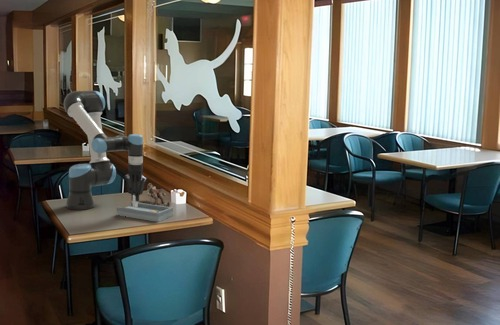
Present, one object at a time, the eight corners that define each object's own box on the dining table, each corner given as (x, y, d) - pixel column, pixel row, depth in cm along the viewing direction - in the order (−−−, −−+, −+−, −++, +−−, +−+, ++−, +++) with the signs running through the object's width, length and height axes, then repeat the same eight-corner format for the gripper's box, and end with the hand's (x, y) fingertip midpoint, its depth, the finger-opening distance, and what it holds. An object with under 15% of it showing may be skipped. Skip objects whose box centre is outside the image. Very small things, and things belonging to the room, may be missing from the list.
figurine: (159, 197, 319) (143, 176, 344) (152, 213, 321) (137, 192, 346) (176, 201, 325) (160, 181, 350) (170, 217, 327) (154, 196, 352)
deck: (116, 215, 309) (116, 206, 308) (132, 209, 322) (132, 201, 321) (158, 221, 299) (158, 213, 298) (172, 215, 312) (172, 207, 311)
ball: (149, 210, 307) (154, 212, 305) (153, 209, 310) (158, 210, 308) (148, 216, 307) (154, 218, 306) (152, 215, 310) (157, 217, 309)
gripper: (121, 163, 307) (120, 206, 311) (142, 166, 302) (141, 210, 306) (129, 161, 314) (129, 203, 318) (149, 163, 309) (149, 207, 313)
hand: (135, 206), depth 312 cm, fingers closed
